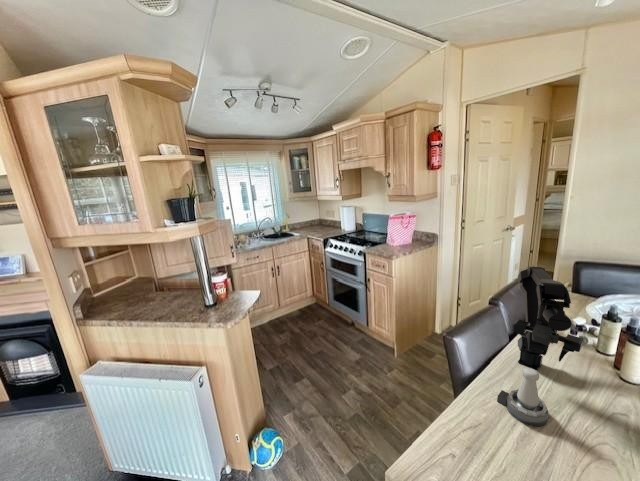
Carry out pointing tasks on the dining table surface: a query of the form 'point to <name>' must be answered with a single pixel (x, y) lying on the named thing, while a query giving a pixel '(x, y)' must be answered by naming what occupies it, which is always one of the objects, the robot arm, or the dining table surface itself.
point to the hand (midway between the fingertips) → (543, 355)
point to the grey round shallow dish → (524, 409)
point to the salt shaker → (529, 389)
